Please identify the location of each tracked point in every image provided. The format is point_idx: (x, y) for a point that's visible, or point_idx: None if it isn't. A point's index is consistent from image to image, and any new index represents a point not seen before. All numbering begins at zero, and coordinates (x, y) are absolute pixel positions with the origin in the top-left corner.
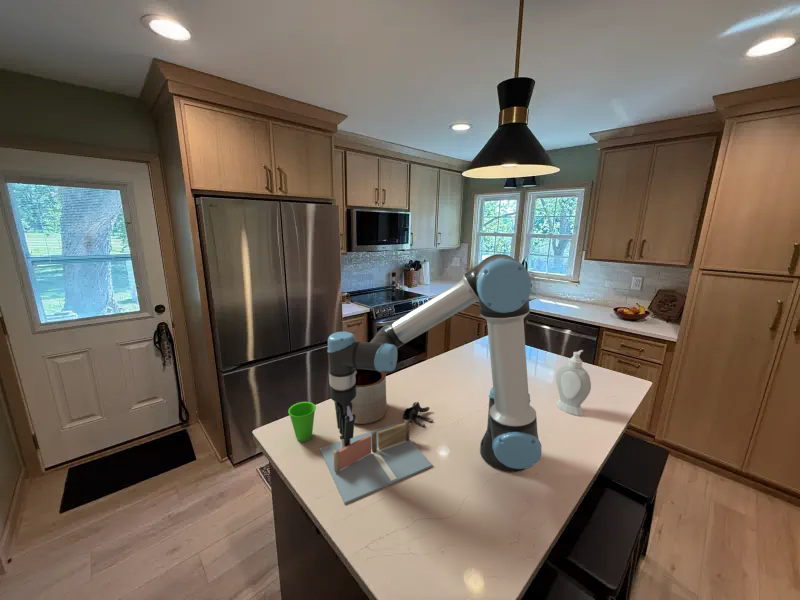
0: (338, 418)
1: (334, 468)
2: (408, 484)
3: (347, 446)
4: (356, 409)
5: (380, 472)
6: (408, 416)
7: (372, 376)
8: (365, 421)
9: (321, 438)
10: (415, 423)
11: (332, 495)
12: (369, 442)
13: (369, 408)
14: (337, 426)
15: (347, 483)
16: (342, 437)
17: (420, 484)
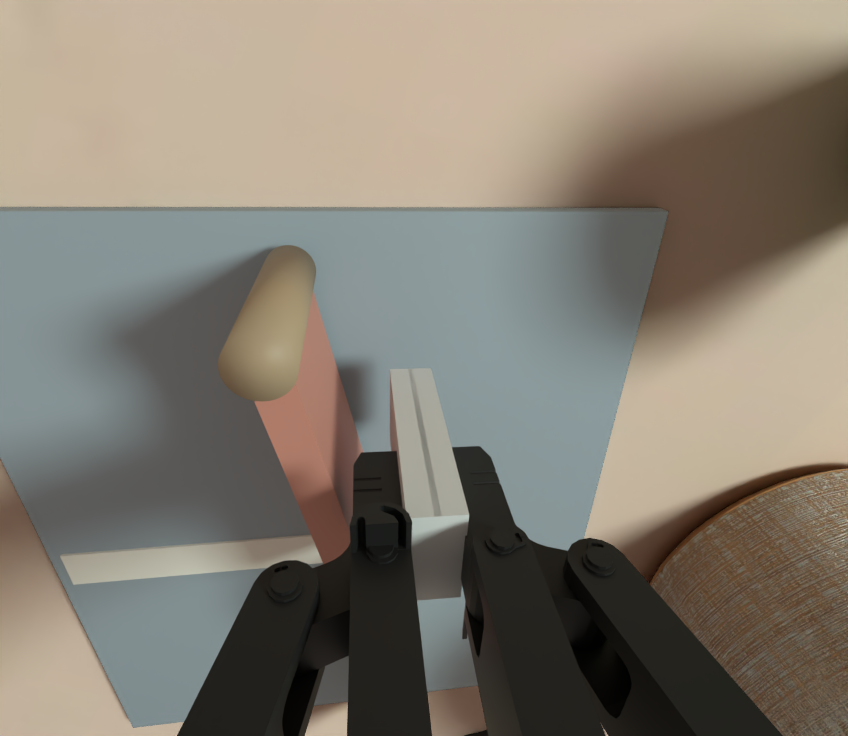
0: (678, 728)
1: (279, 255)
2: (28, 608)
3: (322, 490)
4: (791, 633)
5: (164, 524)
6: None
7: None
8: (670, 579)
9: (775, 260)
10: (486, 730)
11: (35, 136)
12: None
13: None
14: (611, 559)
15: (120, 301)
16: (364, 545)
17: (13, 650)
